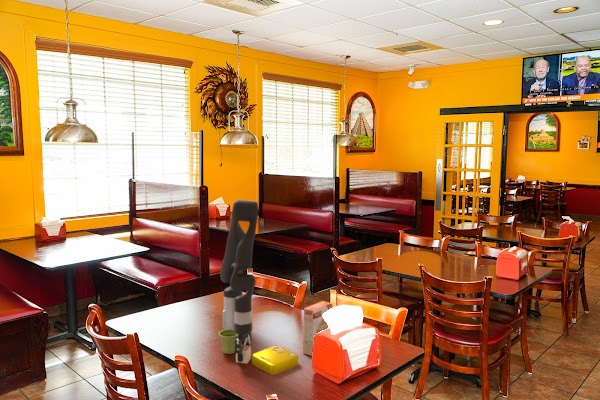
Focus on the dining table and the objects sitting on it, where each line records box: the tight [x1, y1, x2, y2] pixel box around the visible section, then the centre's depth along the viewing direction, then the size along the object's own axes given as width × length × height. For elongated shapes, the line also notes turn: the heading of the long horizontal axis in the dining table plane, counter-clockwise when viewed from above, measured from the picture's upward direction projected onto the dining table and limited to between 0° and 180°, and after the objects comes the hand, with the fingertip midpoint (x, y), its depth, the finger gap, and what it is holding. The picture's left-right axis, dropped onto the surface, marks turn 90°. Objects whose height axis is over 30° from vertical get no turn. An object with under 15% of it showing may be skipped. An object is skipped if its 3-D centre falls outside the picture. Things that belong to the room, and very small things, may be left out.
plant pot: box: [218, 329, 238, 355], centre depth 216 cm, size 9×9×9 cm
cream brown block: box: [235, 345, 252, 364], centre depth 207 cm, size 5×5×6 cm
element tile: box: [251, 345, 299, 375], centre depth 204 cm, size 15×15×5 cm
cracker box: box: [302, 300, 333, 357], centre depth 216 cm, size 14×6×21 cm, turn 140°
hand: (243, 357), depth 207 cm, fingers open, 8 cm apart
